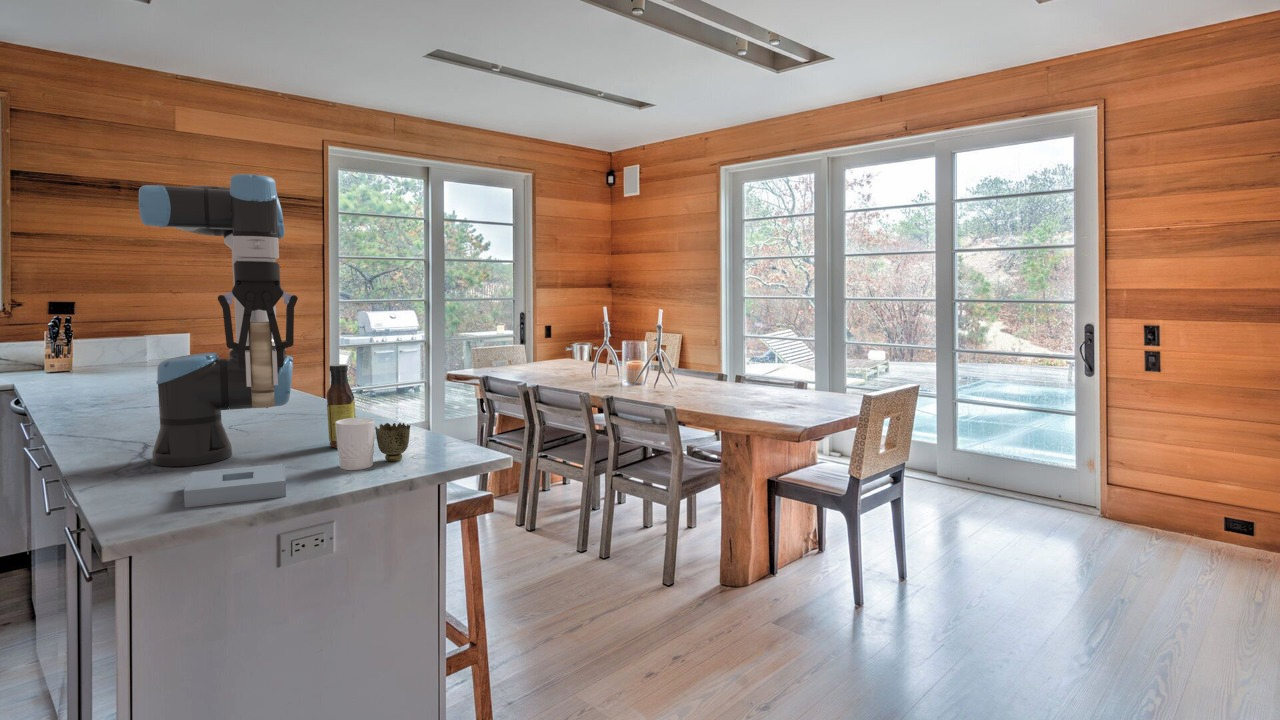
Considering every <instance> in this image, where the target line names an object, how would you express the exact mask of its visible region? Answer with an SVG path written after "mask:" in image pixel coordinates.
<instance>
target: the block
mask: <svg viewBox="0 0 1280 720" xmlns="http://www.w3.org/2000/svg"><path fill="white" fill-rule="evenodd" d="M285 468H286V467H285V463H277V464H275V463H274V464H266V465H255V466H246V467H245V466H243V467H235V468H234V467H233V468H222V469H212V470H211V469H210V470H201V471H192V472H191V473H190V475H189V478H188V480H187V483H186V485H185V488H184V490H183V497H184V500H183V501H184V508H185V509H186V508H195V507H204V506H213V505H222V504H230V503H231V504H233V503H239V502H240V503H241V502H249V501H258V500H268V499H275V498H277V499H278V498H282V497H283V498H284V497H287V486H286V485H287V482H286V469H285Z"/></svg>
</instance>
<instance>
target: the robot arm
mask: <svg viewBox="0 0 1280 720" xmlns="http://www.w3.org/2000/svg"><path fill="white" fill-rule="evenodd" d="M229 180H230V181H229V183H230V185H229V186H230V187H225V186H213V185H194V186H185V187H184V186H173V185H172V186H171V185H169V186H168V185H163V184H162V185H161V184H156V185H152V184H151V185H148V184H147V185H146V184H145V185H142V186H140V187H139V189H138V209H139V211H138V212H139V216H140V217H139V218H140V221H141V223H142V224H143V225H145V226H149V227H159V228H174V229H176V230H179V231H182V232H183V231H184V232H186V233H187V232H188V233H192V234H196V235H203V236H209V237H210V236H211V237H212V236H214V237H223V243H224V244H225V245H226V246H227V247H228V248H229V249H231V259H232V261H231V262H232V275H233V276H232V278H233V279H232V281H233V287H232V291H230V292H227V293H225V294H219V295H218V296H217V301H218V303H219V305H220V306H221V308H222V317H223V327H224V335H225V343H226V347H227V349H229V351H228V353H229V358H220V355H219V354H218V353H217V352H202V353H201V352H200V353H193V354H188V355H187V354H186V355H181V356H175V357H172V358H167V359H165V360H163V361H160V363H158V365H157V372H156V373H157V378H156V385H157V390H158V408H159V409H158V410H159V412H158V413H159V429H158V433H157V436H156V440H155V443H154V446H153V449H152V453H151V454H152V458H151V459H152V464H153V465H156V466H161V467H191V466H198V465H199V466H200V465H204V464H205V465H207V464H212V463H217V462H220V461H224V460H226V459H230V458H231V457H232V455H233V449H232V448H233V446H232V443H231V441H230V439H229V436H228V434H227V432H226V430H225V429H226V428H225V427H224V426H223V425H224V424H223V422H222V411H228V410H229V411H232V410H247V409H254V408H253V407H252V393H251V367H250V349H249V324H250V322H258V321H266V322H270V326H271V331H272V364H273V385H274V402H275V406H273V408H274V407H282V406H285V405H287V404H288V402H289V401H290V397H291V391H292V390H291V389H292V379H293V371H294V369H293V368H294V367H293V366H294V357H293V356H291V355H287V351H286V349H289V348H291V347H293V346H294V338H295V337H294V335H295V333H294V330H295V329H294V328H295V327H294V325H295V307H296V303H297V302H298V299H299V297H298V296H297V295H295V294H291V293H288V292H286V291H284V288H283V287H282V285H281V270H280V269H281V268H280V263H279V262H276V261H277V260H278V259H279V258H280V250H279V249H280V248H279V246H280V244H279V240H281V239H283V238H284V237H285V223H284V215H283V209H282V207H281V203H280V198H279V197H278V193H277V184H276V180H275V179H274V178H273V177H271V176H267V175H263V174H261V175H260V174H251V173H250V174H249V173H247V174H246V173H241V174H240V173H239V174H234V175H232V176H231V177H230V179H229ZM233 298H234V299H233ZM281 298H283V303H284V304H285V305H286V306H285V307H286V309H285V340H284V341H283V340H282V338H281V334H280V329H279V326H278V322H277V306H276V305H277V304H278V302H279V301H280V300H281ZM233 300H234V318H235V319H234V321H235V323H234V324H235V338H236V339H234V330H233V321H232V315H231V314H232V312H231V306H230V305H233ZM235 340H236V342H235ZM269 408H270V407H267V408H266V409H269Z"/></svg>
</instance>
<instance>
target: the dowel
mask: <svg viewBox="0 0 1280 720" xmlns="http://www.w3.org/2000/svg"><path fill="white" fill-rule="evenodd" d="M249 349H250V367H251V393H252V407H253V408H252V409H261V408H262V409H263V408H265V409H268V408H267V407H269V408H272V407H273V406H275V402H274V385H273V364H272V331H271V326H270V322H266V321H258V322H250V324H249ZM275 407H276V406H275ZM273 408H274V407H273Z"/></svg>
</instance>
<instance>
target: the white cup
mask: <svg viewBox="0 0 1280 720" xmlns="http://www.w3.org/2000/svg"><path fill="white" fill-rule="evenodd" d="M375 421H376V420H375V419H374V418H371V417H355V418H348V419H342V420H338V421H336V422H335V425H336V437H337V448H336V449H337V454H338V459H339V460H338V461H339V468H340V469H341V470H345V471H359V470H365V469H370V468H371V467H373V466H374V453H375V451H374V449H375V423H376V422H375Z"/></svg>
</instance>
